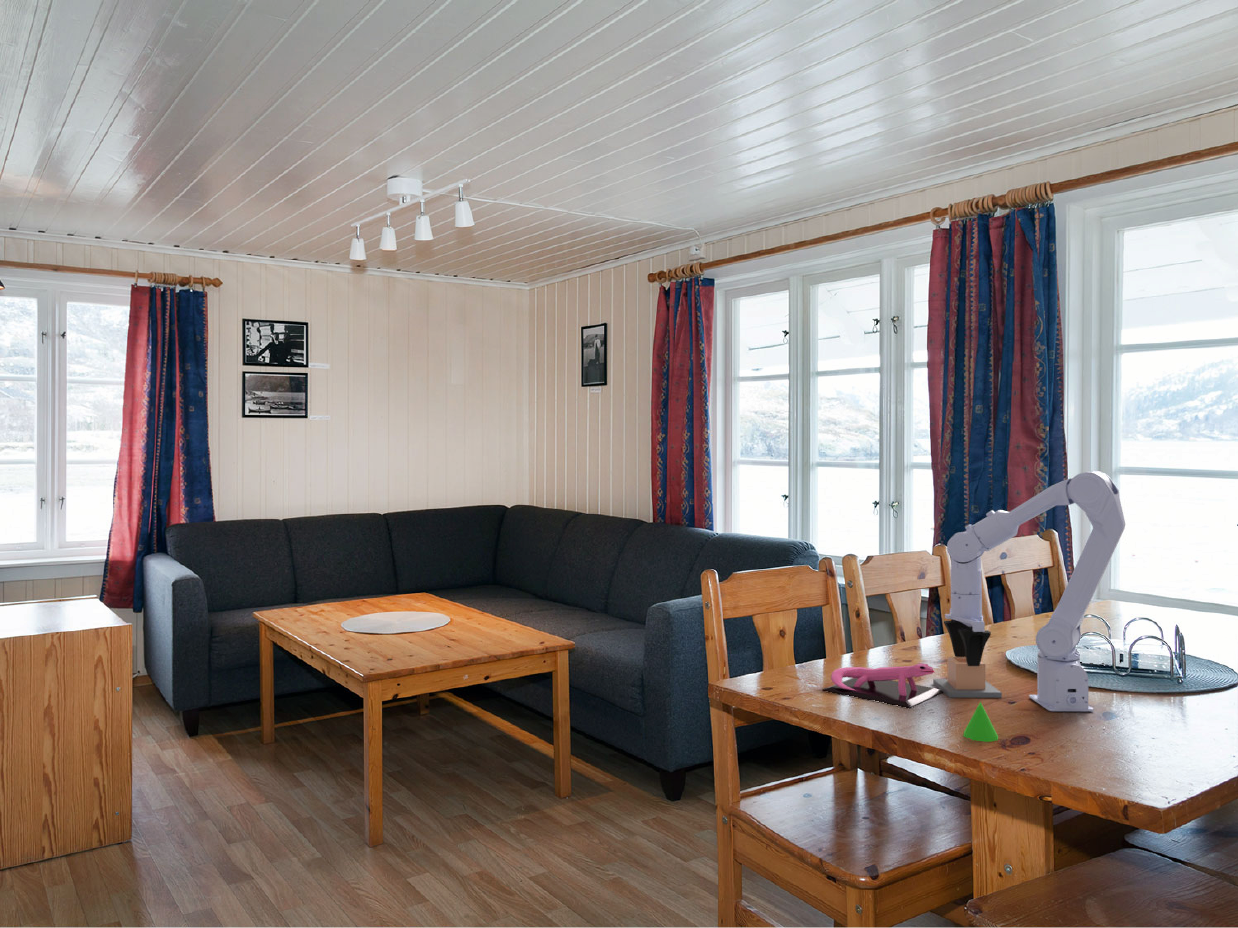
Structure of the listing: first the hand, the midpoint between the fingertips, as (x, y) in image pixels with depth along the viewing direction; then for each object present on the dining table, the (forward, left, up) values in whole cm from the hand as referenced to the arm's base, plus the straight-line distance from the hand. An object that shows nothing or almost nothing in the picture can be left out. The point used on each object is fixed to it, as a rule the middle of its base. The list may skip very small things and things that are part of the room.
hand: (966, 661), depth 178 cm
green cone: (-28, +7, -6) cm, 29 cm away
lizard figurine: (-1, +16, -7) cm, 18 cm away
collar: (0, 0, -5) cm, 5 cm away
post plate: (0, 0, -6) cm, 6 cm away
